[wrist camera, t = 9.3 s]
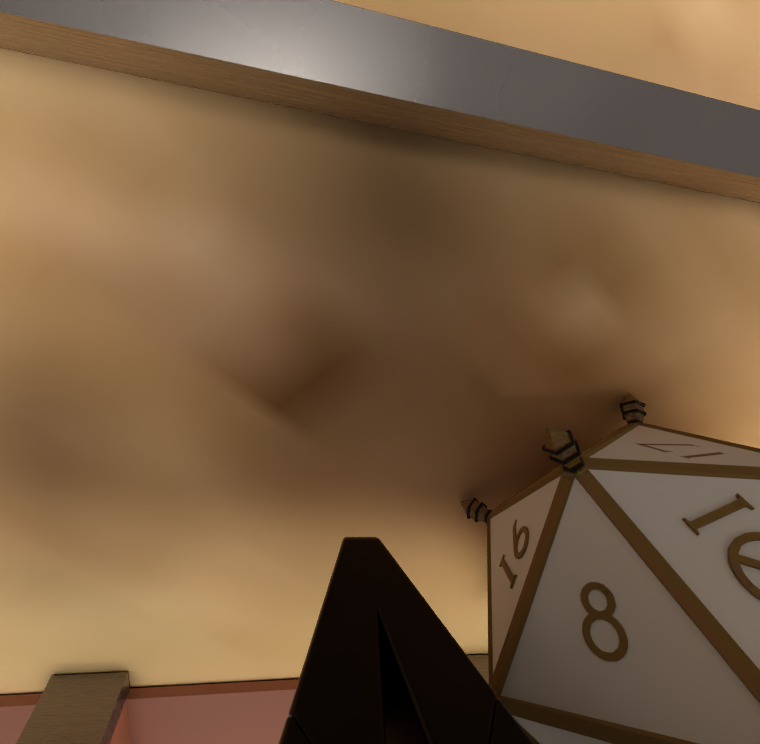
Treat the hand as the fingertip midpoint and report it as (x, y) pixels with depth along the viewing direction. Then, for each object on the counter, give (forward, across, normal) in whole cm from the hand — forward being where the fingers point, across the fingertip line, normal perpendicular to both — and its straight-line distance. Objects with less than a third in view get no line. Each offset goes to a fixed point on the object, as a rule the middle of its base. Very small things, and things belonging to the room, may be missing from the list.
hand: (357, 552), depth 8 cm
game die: (+3, -6, 0) cm, 7 cm away
